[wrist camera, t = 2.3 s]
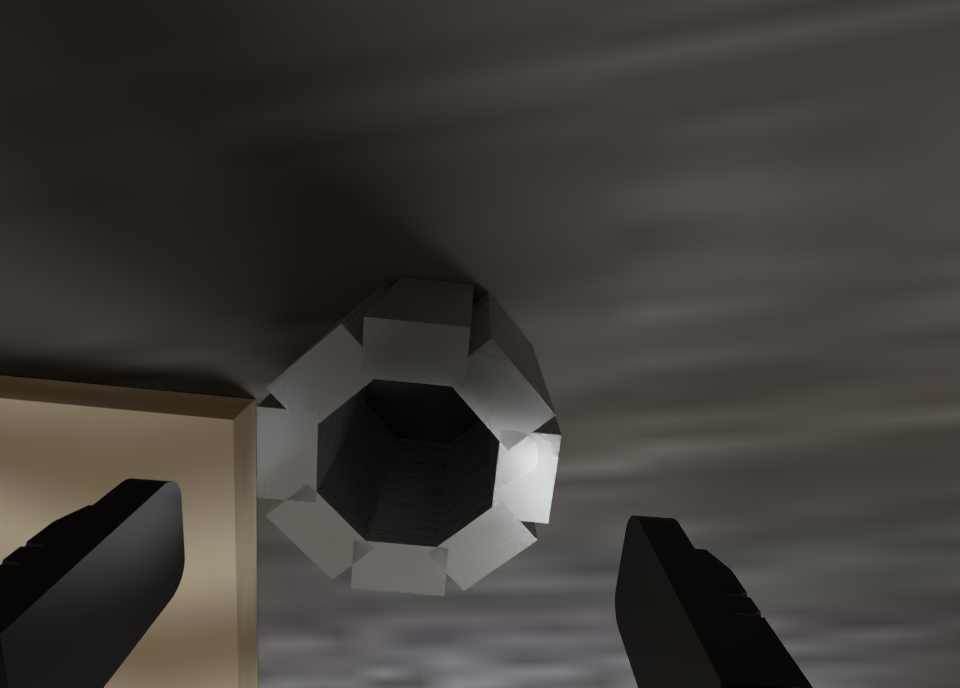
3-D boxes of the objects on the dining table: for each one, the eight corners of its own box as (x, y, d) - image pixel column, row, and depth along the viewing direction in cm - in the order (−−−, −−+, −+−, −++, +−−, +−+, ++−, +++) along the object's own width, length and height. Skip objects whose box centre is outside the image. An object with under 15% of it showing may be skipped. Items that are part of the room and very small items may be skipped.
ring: (328, 269, 15) (255, 306, 10) (546, 291, 15) (576, 337, 10) (322, 467, 17) (257, 580, 12) (520, 485, 17) (535, 604, 12)
